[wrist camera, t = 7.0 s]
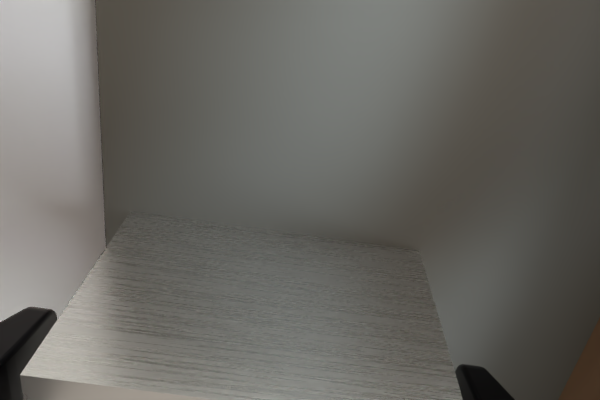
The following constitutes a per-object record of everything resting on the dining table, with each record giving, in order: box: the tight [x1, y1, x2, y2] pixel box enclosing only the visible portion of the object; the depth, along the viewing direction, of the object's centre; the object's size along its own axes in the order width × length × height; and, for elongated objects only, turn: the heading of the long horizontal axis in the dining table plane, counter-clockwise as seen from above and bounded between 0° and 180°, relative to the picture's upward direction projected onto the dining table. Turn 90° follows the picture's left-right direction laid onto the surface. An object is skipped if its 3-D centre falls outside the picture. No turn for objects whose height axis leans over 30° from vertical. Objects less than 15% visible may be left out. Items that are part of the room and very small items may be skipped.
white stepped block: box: [20, 211, 463, 400], centre depth 10 cm, size 6×4×4 cm, turn 82°
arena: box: [95, 0, 600, 400], centre depth 10 cm, size 12×14×4 cm
